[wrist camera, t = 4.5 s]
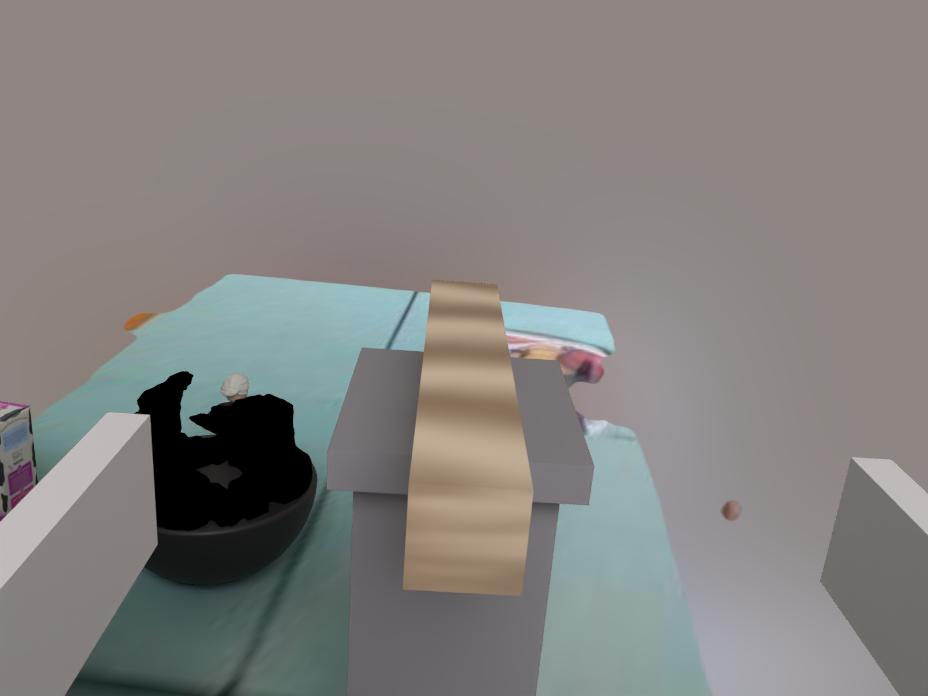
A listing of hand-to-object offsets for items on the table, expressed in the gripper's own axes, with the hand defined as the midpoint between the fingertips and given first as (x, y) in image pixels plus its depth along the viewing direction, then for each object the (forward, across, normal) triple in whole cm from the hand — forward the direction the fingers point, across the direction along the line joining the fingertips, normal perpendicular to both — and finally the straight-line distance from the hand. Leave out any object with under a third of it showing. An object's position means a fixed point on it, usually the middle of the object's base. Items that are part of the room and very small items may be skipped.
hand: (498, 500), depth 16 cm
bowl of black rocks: (+58, +22, +42) cm, 75 cm away
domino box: (+23, 0, +9) cm, 24 cm away
